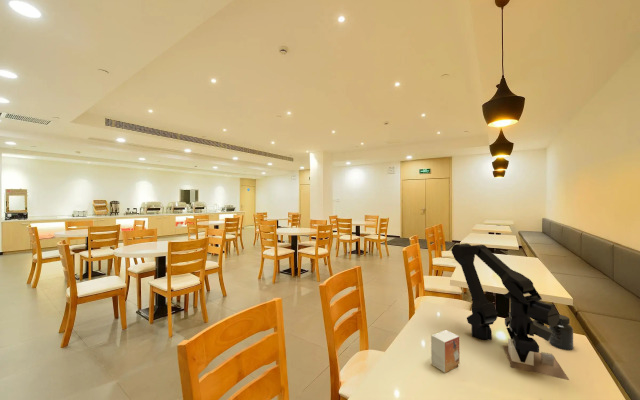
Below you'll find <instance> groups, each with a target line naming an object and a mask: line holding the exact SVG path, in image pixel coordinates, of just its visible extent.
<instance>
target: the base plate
mask: <svg viewBox="0 0 640 400" xmlns="http://www.w3.org/2000/svg"><path fill="white" fill-rule="evenodd" d="M502 347H503V349H504V353H505V355H506V357H507V361H508V362H509V365H510V368H512V369H517V370H522V371H526V372H531V373H535V374H538V375H539V374H540V375H544V376H548V377H552V378H553V377H554V378H557V379H563V380H567V381H570V378H569V376H568V375H567V374H566V372H565V371H564V369H563V367H562V366H561V365H560V363H559V362H558V360H557V359H556V357H555V356H554V366H551V365H546V364H542V362H541V351H539V352H538V353H537V352H533V354H534V366H533V365H528V364H524V363H519V362H514V361H512V360H511V357H510V355H509V352H508V346H507V345H502Z"/></svg>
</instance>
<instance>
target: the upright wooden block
mask: <svg viewBox="0 0 640 400" xmlns="http://www.w3.org/2000/svg"><path fill="white" fill-rule="evenodd" d="M540 353H541V362H542V364H546V365H551V366H554V357H555V356H554V355H553V353H549V352H545V351H544V352H543V351H540Z"/></svg>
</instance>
